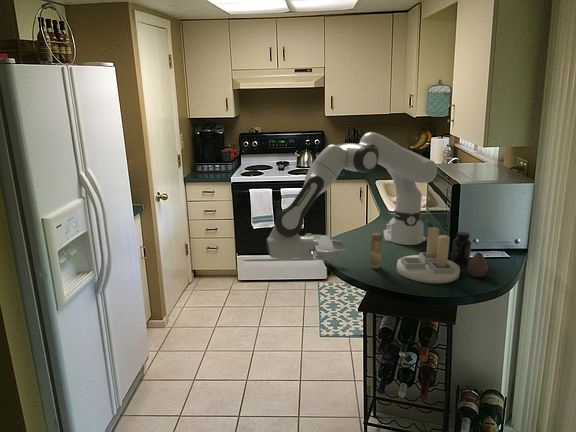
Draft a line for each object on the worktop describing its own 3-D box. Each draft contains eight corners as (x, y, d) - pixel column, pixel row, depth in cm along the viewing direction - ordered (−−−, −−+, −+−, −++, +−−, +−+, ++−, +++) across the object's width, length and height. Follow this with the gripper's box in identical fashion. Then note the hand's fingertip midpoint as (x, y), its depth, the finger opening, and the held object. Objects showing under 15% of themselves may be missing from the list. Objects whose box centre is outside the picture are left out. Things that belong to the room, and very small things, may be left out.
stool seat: (389, 261, 195) (392, 224, 191) (445, 260, 197) (449, 223, 193) (407, 283, 173) (410, 242, 169) (469, 282, 175) (474, 241, 171)
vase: (472, 271, 186) (475, 249, 184) (489, 276, 181) (492, 254, 179) (463, 275, 182) (465, 253, 179) (480, 280, 177) (483, 258, 174)
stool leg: (368, 264, 192) (370, 233, 188) (378, 264, 192) (380, 233, 188) (370, 268, 188) (372, 236, 184) (381, 268, 188) (383, 236, 185)
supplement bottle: (447, 260, 198) (450, 231, 194) (460, 257, 200) (463, 230, 197) (459, 265, 192) (462, 236, 188) (472, 263, 194) (476, 234, 191)
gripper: (312, 248, 175) (350, 248, 176) (306, 232, 195) (340, 232, 196) (311, 265, 177) (349, 264, 178) (306, 247, 196) (339, 246, 197)
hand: (344, 247), depth 187 cm, fingers open, 8 cm apart
